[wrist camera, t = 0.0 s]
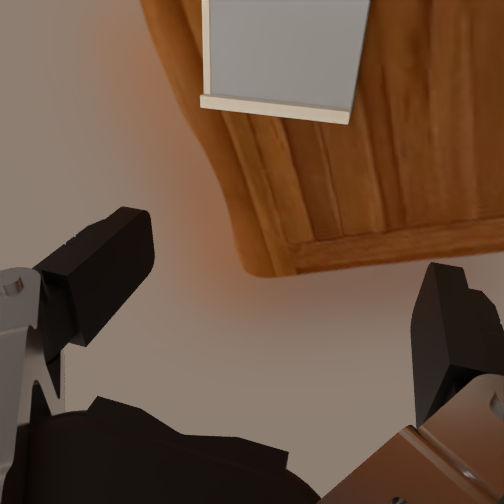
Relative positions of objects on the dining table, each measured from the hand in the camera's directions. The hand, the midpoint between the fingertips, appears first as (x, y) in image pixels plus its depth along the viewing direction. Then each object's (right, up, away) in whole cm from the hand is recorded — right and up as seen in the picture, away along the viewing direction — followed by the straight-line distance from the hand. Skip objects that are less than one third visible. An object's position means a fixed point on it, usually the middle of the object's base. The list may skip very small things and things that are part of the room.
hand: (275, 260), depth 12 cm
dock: (+2, +19, +23) cm, 30 cm away
